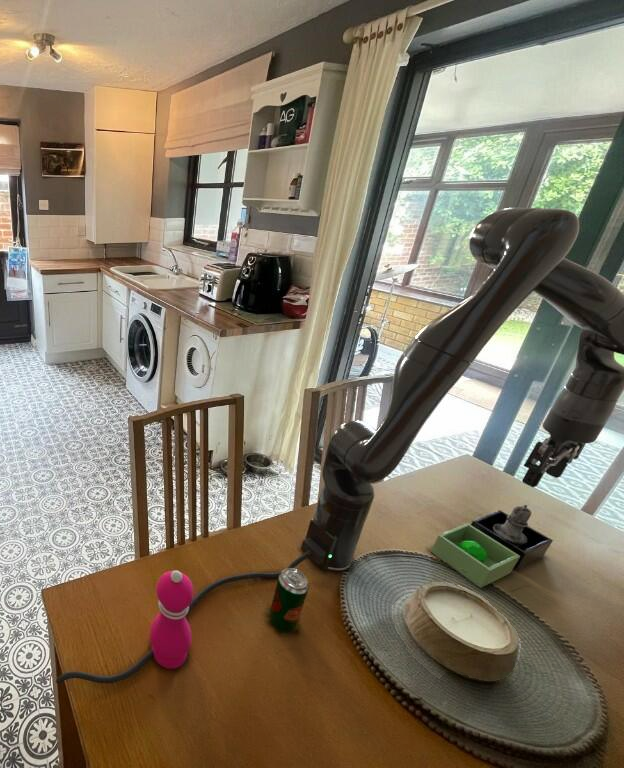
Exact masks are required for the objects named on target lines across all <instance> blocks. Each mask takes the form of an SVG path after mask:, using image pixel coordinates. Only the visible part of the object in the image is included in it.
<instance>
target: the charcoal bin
mask: <svg viewBox="0 0 624 768" xmlns="http://www.w3.org/2000/svg"><path fill="white" fill-rule="evenodd" d="M508 515H509V514H507V513H506V512H505V511H503V510H500V509H499V510H497V511H496V510H495V511H494V512H491V513H489V514H486V515H484V516H482V517H479V518H477V519H475V520H472V521H471V523H470V525H471V526H473V527H475V528H476V529H478V530H479V531H481V532H483V533H484V534H486V535H487V536H489V537H491V538H492V539H494V540H495V541H497V542H499V543H500V544H502V545H503V546H505V547H506V548H508V549H510V550H511V551H513V552H514V553H516V554H518V555H519V556H520V558H519V559H518V561H517V563H516V564H515V566H514V568H513V569H512V570H513V571H518V570H519V569H521V568H524V567H525V566H527V565H529V564H531V563H534V562H535V561H537V560H540V559H541V558H543V557H544V556H545V554H546V552H547V551H548V549H549V548H550V546H551V544H552V543H553V541H554V540H553V539H552V538H550V537H548V536H547V535H544V534H543V533H541V532H539V531H538V530H535V529H534V528H532V527H530V526H529V525H528V526H527V527H524V529H523V531H522V533H523V534H524V535H525V536H526V538H527V542H526V543H524V544H522V545H521V546H518V547H517V546H515V545H513V544H512V543H510V542H509V541H507V540H505V539H504V538H502V537H500V536H499V535H497V534H496V533H494V532H493V526H494V525H495V524H505V522H506V520H507V518H506V517H507V516H508Z"/></svg>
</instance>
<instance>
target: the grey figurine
mask: <svg viewBox="0 0 624 768" xmlns="http://www.w3.org/2000/svg"><path fill="white" fill-rule="evenodd" d="M531 516H532V511H531V509H529V508H528V505H527V504H523V505H515V506H514V507H513V508H512V510H511V512H510V514H508V516H507V517H506V518H507V520H506V522H505V524H495V525H494V526H493V532H494V533H496V534H497V535H499V536H500V537H502V538H504V539H505V540H507V541H509V542H510V543H512V544H513V545H515V546H517V547H518V546H521V545H522V544H524V543H526V542H527V538H526V536H525V535H524V534H523V533H522V531H523V529H524V527H527V526H529V523H528V521H529V519H530V518H531Z"/></svg>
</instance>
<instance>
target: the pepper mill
mask: <svg viewBox="0 0 624 768" xmlns="http://www.w3.org/2000/svg"><path fill="white" fill-rule="evenodd" d="M155 591H156V596H157V599H158V608H159V611H160V612H159V613H158V614H157V615H156V616H155V618H154V619H153V621H152V623H151V625H150V629H149V639H150V640H149V641H150V643H151V649H152V650H153V653H154V656H153V657H152V658H153V659H154V660H155V661H156V663H157V664H158V665H160V666H161V667H163V668H165V669H171V670H173V669H177V668H179V667H181V666H182V665H183V664H184V663H185V661H186V659H187V655H188V652H189V650H190V648H191V645H192V630H191V626H190V623H189V622H188V619H187V618H186V616H187V615H188V613H189V612H188V610H189V605H190V604H191V602H192V600H193V598H194V597H195V595H194V593H195V592H194V591H195V590H194V586H193V583H192V581H191V579H190V578H189V577H188V576H187V575H186V574H184V573H183V572H181V571H180V570H170V571H167V572H164V573H162V575H161V576H160V578H159V579H158V581H157V584H156V590H155ZM186 614H187V615H186ZM185 615H186V616H185Z"/></svg>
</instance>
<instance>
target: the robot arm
mask: <svg viewBox="0 0 624 768" xmlns="http://www.w3.org/2000/svg"><path fill="white" fill-rule="evenodd" d="M579 232H580V220H579V218H578V216H577V214H576V213H575V212H573V211H571V210H568V209H564V208H563V209H562V208H548V207H547V208H546V207H509V208H502V209H499V210H495V211H493V212H491V213H489V214H486V216H484V217H483V218H482V219H481V220H480V221H479V222H478V223H477V224H476V225H475V227H474V228H473V229H472V232H471V234H470V237H469V242H468V245H469V246H468V247H469V251H470V254H471V255H472V257H473V259H474V260H476V261H477V262H478V263H480V264H482V265H485V266H487V267H489V268H491V269H493V271H492V272H491V274H489V275H488V277H487V278H486V280H485V281H484V282H483V283H482V285H481V286H479V288H478V289H476V290H475V292H474V293H472V294H471V295H470V296H468V297H467V298H466V299H465V300H463V301H462V302H460V303H458V304H456V306H454V307H452V308H450V309H448V310H447V311H445V312H444V313H442V314H440V315H438V316H437V317H436V318H434V319H433V320H430V322H429V323H427V324H426V325H424V326H423V327H422V328H421V329H420V330H419V331H418V332H417V333H416V334H415V335H414V337H413V339H412V340H411V341H410V342H409V344H408V346H407V347H406V348H405V349H404V351H403V353H402V354H401V355H400V357H399V359H398V360H397V362H396V365H395V369H394V372H393V379H392V385H391V396H390V402H389V406H388V409H387V412H386V413H385V416H384V418H383V419H382V422H381V423H380V424H379V426H378V427H377V429H375V428H374V427H373V426H371V425H370V424H368V423H367V422H365V421H363V420H350V421H347V422H344V423H342V424H341V425H340V426H338V427H337V428H336V430H334V432H333V433H332V435H331V437H330V439H329V441H328V444H327V448H326V451H325V457H324V461H323V465H322V472H321V477H322V481H323V484H322V487H321V490H320V495H319V498H318V502H317V505H316V509H315V512H314V515H313V518H311V519H310V521H309V524H308V528H307V532H306V535H305V538H304V539H303V540H302V544H301V547H300V550H301V551H302V553H303V554H301V555H300V556H298V557H297V558H295V560H293V561H291V563H290V564H289V566H287V568H293V569H296V567H297V566H298V565H299V564H301V563H302V562H303V561H305V560H306V559H310V560H311V561H312V562H313V563H315V564H316V566H317V567H319V569H321V570H322V571H326V570H328V571H333V572H343V571H346V570H348V569H349V568H350V567H351V565H352V562H353V559H354V558H353V557H354V556H355V555H354V554H355V552H356V549H357V547H358V543H359V541H360V538H361V535H362V532H363V530H364V526H365V523H366V521H367V518H368V516H369V513H370V510H371V507H372V504H373V502H374V499H375V489H374V486H373V484H375V483H379V482H381V481H382V480H384V479H386V478H387V477H388V476H390V475H391V474H392V473H393V472H394V471H395V469H397V467H398V466H399V464H400V463H401V462H402V460H403V458H404V457H405V455H406V454H407V452H408V450H409V449H410V447H411V446H412V444H413V442H414V441H415V439H416V438H417V436H418V435H419V433H420V432H421V430H422V429H423V426H424V425H425V424H426V423H427V421H428V419H429V418H430V417H431V415H432V414H433V413H434V412H435V410H436V408H438V406H439V405H440V404H441V402H442V401H443V399H444V398H445V397H446V396H447V394H448V393H449V392H450V391H451V390H452V388H453V387H454V386H455V385H456V384H457V383H458V382H459V380H460V379H461V378H462V376H463V375H464V374H465V373H466V372H467V370H468V369H469V368H470V367H471V365H472V364H473V363H474V362H475V360H476V358H477V357H478V356H479V355H480V353H481V351H482V350H483V349H484V348H485V346H486V345H487V344H488V343H489V341H490V340H491V339H492V338H493V336H494V335H496V334H497V332H498V330H500V328H501V327H502V326H503V325H504V323H506V321H507V320H508V319H509V318H510V316H511V315H512V314H513V313H515V311H516V310H517V309H518V307H519V306H521V304H522V303H523V302H524V301H525V300H526V299H527V298H528V297H529V296H530V295H531V294H532V293H535V294H536V295H538V296H539V297H540V298H542V299H543V300H544V301H546V302H547V303H548V304H549V305H551V307H553V308H554V309H556V310H557V311H558V312H559V313H560V314H561V315H563V316H564V317H565V318H566V319H567V320H569V321H570V323H572V324H574V325H575V326H576V327H578V328H580V331H579V336H578V340H577V341H578V342H577V351H576V355H575V356H576V357H575V365H574V369H573V370H572V372H571V375H570V377H569V378H568V380H567V382H566V383H565V385H564V387H563V389H562V390H561V391H560V392H559V393H558V395H557V397H556V399H555V401H554V402H553V404H552V406H551V408H550V409H549V412H548V413H547V415H546V417H545V419H544V420H543V422H542V429H543V430H544V431H546V432H548V434H549V435H550V436H548V437H546V438H545V439H544V440H543V441H542V442H541V441H537V442H536V443H535V446H534V447H533V448H532V451H530V453H529V456H528V457H527V459H526V460H525V462H524V463H523V467H525V468H527V470H526V472H525V474H524V476H523V478H522V480H521V482H522V483H523V484H525V485H527V486H529V487H531V488H535V487H537V486H539V483H540V482H541V480H542V478H543V476H544V475H545V474H547V475H548V476H551V477H553V478H555V479H558V478H561V477H562V475H563V474H564V472H565V470H566V468H567V467H568V465H570V464H571V463H573V461H574V460H577V459H578V458H579V457H580V456H581V453H582V451H583V450H584V449H585V446H586V444H591V443H594V442H596V441H597V439H598V437H599V436H600V434H601V432H602V431H603V430H604V428H605V426H606V424H607V422H608V421H609V419H610V418H611V416H612V414H613V413H614V411H615V408H616V405H617V403H618V402H619V399H620V397H621V396H622V394H623V393H624V365H622V364H621V363H619V362H618V361H617V360H616V358H615V354H619V355H622V356H624V293H623V292H622V291H621V290H620V289H619V288H618V287H617V286H616V285H615V284H613V283H612V282H611V281H610V280H609V279H607V278H605V277H604V276H603V275H601V274H599V273H597V272H595V271H593V270H591V269H589V268H587V267H585V266H583V265H580V264H578V263H576V262H574V261H572V260H570V259H568V258H567V257H566V256H567V255H568V254H569V252H570V251H571V249H572V248H573V246H574V244H575V242H576V240H577V238H578V236H579ZM565 257H566V258H565ZM538 462H539V464H537V463H538ZM281 572H283V570H281V571H277V572H249V573H248V572H247V573H241V574H235V575H231V576H227V577H223V578H222V579H218V580H216V581H214V582H212V583H210V584H208V585H207V586H205V588H203V589H202V590H201V591H200V592H199V593H198V594H196V595H194V596H193V600H192V602H191V604H190V605H189V610H188V613H189V612H190V611H191V610H192V608H193V607H194V606H195V605H196V604H197V603H198V602H199V601H200V600H202V599H203V597H204V596H206V595H207V594H209V593H210V592H211V591H214V590H215V589H216V588H218V587H220V586H223V585H225V584H227V583H230V582H231V583H232V582H235V581H241V580H242V581H243V580H248V579H257V578H262V579H263V578H265V579H278V577H279V574H280V573H281ZM188 613H187V614H186V615H185V617H187V615H188ZM153 656H154V653H153V650H152V648H151V649H150V650H149V651H148V652H147V653H145V655H144V656H143V657H141V659H139V660H138V661H137V662H136V663H135V664H133V665H132V666H131V667H129V668H128V669H126V670H124V671H122V672H120V673H117V674H114V675H106V676H105V675H99V674H98V675H97V674H93V673H89V672H85V671H78V670H70V671H67V672H64V673H62V674H61V675H59V676H58V677H57V678H56V679H55V683H56V684H57V685H58V684H62V683H63V682H65V681H66V680H71V679H78V680H79V679H80V680H84V681H89V682H91V683H92V682H93V683H98V684H115V683H117V682H120V681H123V680H125V679H127V678H129V677H131V676H133V675H134V674H135V673H137V672H138V671H139V670H140V669H142V668H143V667H144V666H145V665H146V664H147V663H148V662H149V661H150V660H151V659H152V658H154V657H153Z"/></svg>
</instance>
